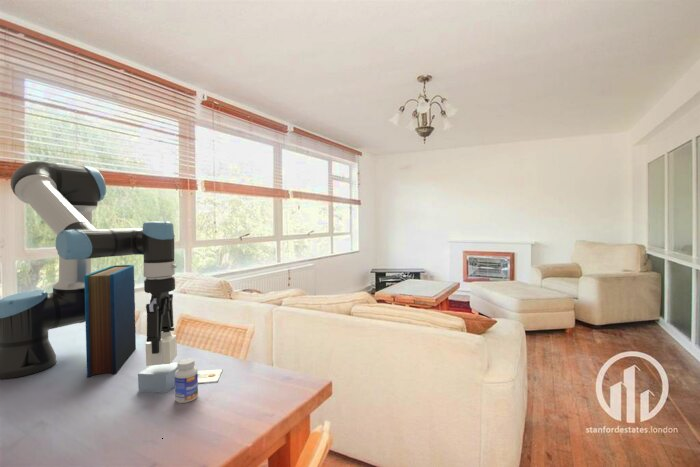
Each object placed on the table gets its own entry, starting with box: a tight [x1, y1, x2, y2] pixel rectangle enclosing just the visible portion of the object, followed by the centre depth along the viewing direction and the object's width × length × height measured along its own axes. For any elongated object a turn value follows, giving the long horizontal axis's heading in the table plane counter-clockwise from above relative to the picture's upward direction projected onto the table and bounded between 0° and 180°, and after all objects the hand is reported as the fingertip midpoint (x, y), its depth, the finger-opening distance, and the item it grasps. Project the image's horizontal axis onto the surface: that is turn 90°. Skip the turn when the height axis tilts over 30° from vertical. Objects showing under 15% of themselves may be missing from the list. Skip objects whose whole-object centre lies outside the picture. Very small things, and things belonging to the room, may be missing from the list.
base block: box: [137, 361, 178, 393], centre depth 97 cm, size 8×8×5 cm
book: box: [84, 264, 137, 378], centre depth 113 cm, size 24×9×30 cm, turn 18°
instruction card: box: [198, 368, 223, 384], centre depth 102 cm, size 10×8×1 cm
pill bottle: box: [174, 357, 199, 404], centre depth 90 cm, size 5×5×10 cm
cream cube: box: [145, 334, 178, 367], centre depth 97 cm, size 6×6×6 cm
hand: (161, 359), depth 97 cm, fingers closed on cream cube, 6 cm apart
